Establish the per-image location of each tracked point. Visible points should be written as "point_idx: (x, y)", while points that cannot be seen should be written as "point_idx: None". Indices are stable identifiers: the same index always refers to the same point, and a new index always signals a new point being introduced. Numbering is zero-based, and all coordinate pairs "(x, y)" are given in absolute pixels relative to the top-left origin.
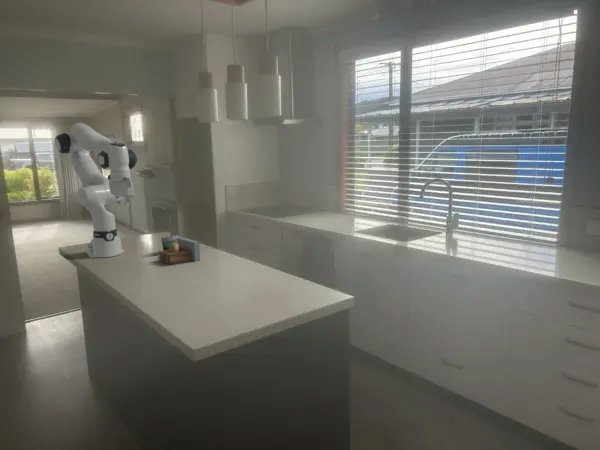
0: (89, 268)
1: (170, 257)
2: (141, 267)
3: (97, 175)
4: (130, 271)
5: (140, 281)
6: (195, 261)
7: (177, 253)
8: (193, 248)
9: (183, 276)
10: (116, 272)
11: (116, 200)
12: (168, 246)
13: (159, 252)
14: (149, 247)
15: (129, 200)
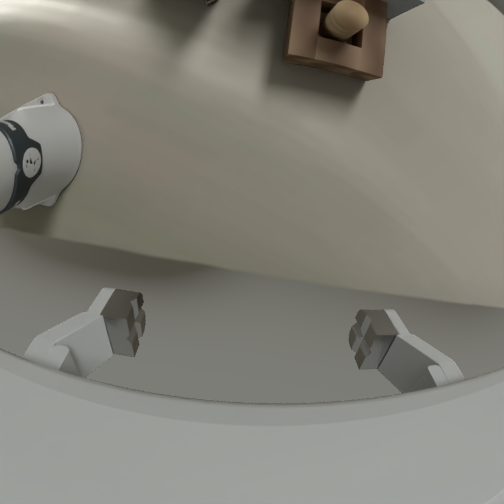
0: (169, 258)
1: (377, 78)
2: (303, 150)
3: None
4: (314, 199)
5: (411, 237)
6: (390, 18)
7: (380, 46)
8: (406, 5)
9: (465, 153)
10: (285, 230)
11: (98, 354)
12: None
13: (290, 55)
14: (69, 10)
15: (431, 353)
